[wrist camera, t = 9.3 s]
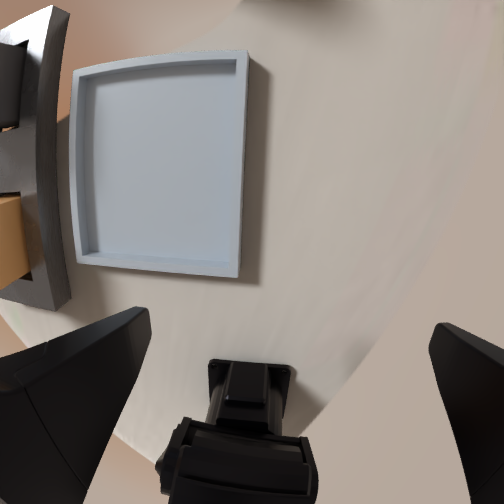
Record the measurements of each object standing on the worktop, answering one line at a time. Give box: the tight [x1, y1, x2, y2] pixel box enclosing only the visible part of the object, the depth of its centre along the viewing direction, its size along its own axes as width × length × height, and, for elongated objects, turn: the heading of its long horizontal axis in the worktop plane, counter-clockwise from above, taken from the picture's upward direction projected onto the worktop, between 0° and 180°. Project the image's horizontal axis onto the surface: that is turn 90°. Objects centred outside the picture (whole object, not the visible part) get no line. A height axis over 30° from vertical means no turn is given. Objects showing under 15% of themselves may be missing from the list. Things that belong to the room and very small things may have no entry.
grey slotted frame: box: [0, 5, 71, 312], centre depth 19 cm, size 24×9×2 cm, turn 177°
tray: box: [69, 50, 250, 278], centre depth 19 cm, size 14×12×2 cm
